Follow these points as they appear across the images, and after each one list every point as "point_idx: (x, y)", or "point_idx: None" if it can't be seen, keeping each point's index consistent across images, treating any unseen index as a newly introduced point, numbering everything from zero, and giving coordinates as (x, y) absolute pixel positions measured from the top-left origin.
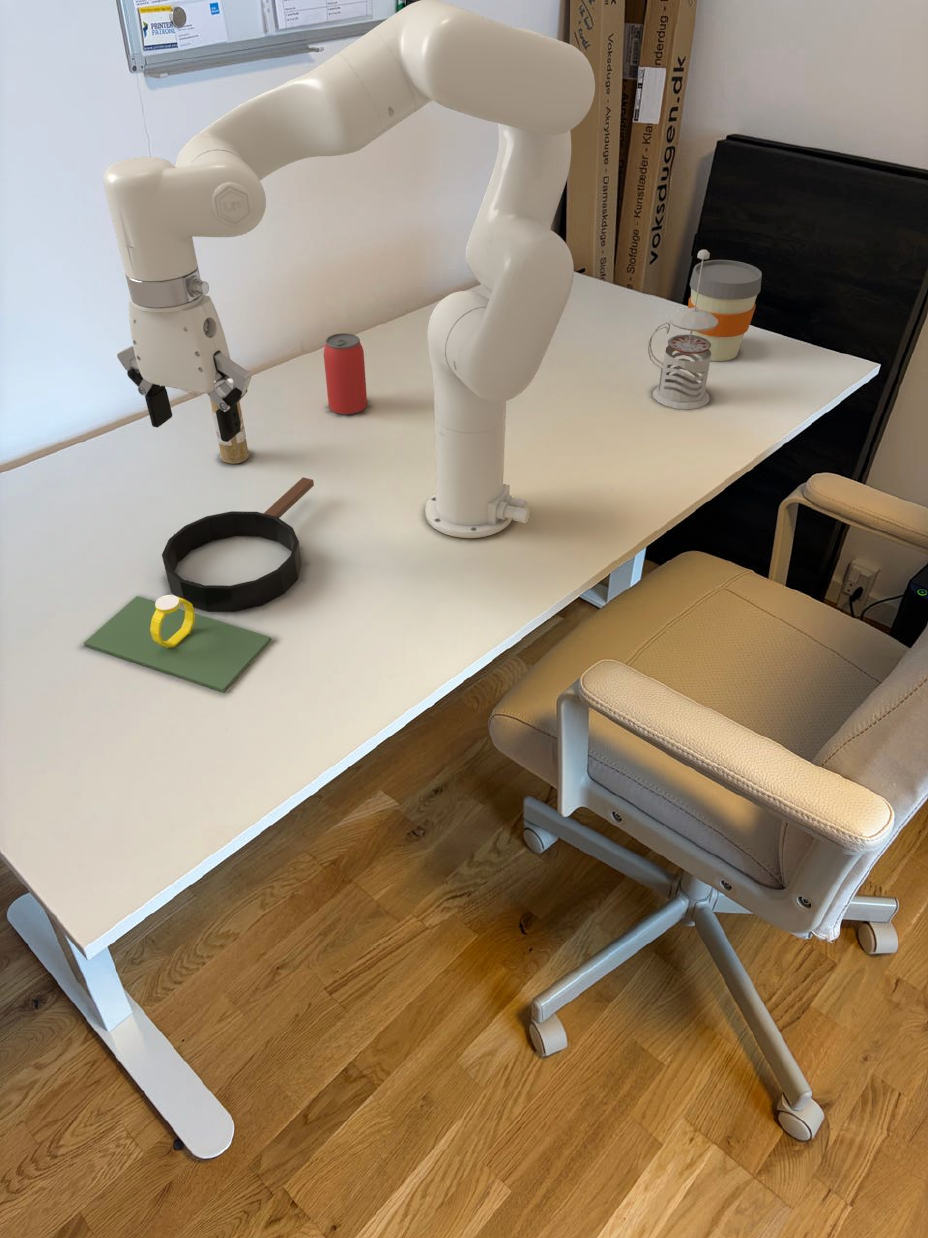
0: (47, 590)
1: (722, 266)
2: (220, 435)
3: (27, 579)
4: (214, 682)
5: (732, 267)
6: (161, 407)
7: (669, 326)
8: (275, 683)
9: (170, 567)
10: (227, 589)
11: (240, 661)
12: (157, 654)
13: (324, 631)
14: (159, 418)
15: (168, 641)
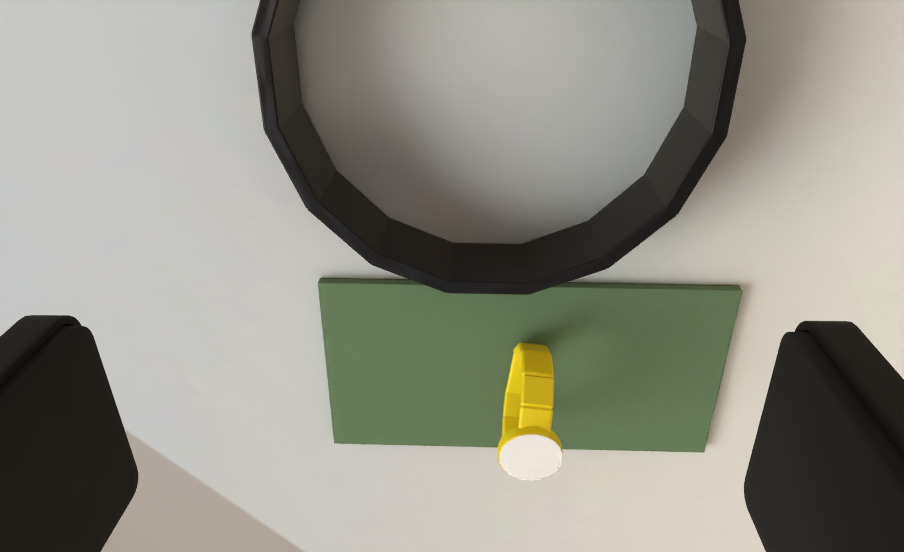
0: (94, 329)
1: None
2: (757, 531)
3: (12, 315)
4: (676, 444)
5: None
6: (40, 523)
7: None
8: None
9: (327, 176)
10: (599, 270)
11: (703, 379)
12: None
13: (871, 207)
14: (100, 495)
15: (511, 392)
